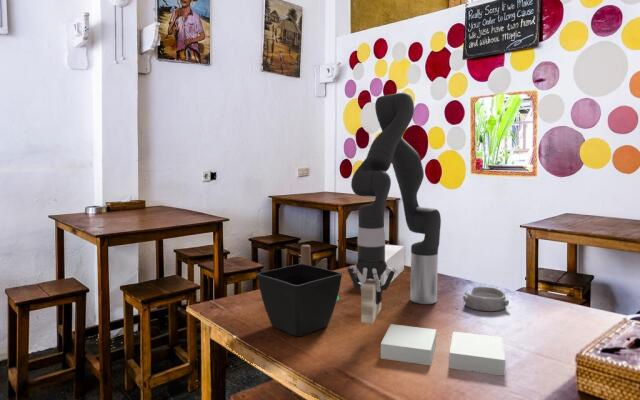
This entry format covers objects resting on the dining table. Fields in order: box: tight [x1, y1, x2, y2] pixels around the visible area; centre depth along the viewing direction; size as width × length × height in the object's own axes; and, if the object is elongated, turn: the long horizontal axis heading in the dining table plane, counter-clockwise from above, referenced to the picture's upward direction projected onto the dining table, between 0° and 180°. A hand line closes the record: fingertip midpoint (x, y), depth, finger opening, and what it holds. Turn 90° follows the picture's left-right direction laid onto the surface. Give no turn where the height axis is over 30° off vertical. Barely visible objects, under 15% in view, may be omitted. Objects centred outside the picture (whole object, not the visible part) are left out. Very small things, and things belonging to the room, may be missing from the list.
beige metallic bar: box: [360, 279, 382, 325], centre depth 132 cm, size 12×3×10 cm, turn 161°
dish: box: [462, 286, 510, 312], centre depth 161 cm, size 14×14×5 cm
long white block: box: [357, 244, 405, 285], centre depth 197 cm, size 32×11×11 cm, turn 156°
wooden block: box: [300, 244, 328, 270], centre depth 175 cm, size 4×11×18 cm, turn 53°
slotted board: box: [380, 323, 506, 377], centre depth 123 cm, size 14×30×4 cm, turn 71°
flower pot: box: [257, 263, 343, 337], centre depth 143 cm, size 19×19×17 cm
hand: (371, 302), depth 132 cm, fingers closed on beige metallic bar, 3 cm apart
